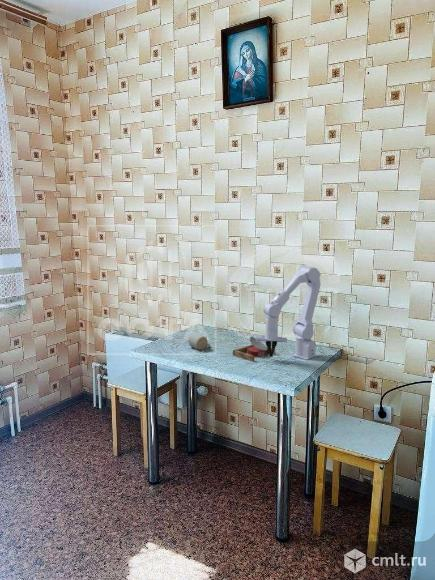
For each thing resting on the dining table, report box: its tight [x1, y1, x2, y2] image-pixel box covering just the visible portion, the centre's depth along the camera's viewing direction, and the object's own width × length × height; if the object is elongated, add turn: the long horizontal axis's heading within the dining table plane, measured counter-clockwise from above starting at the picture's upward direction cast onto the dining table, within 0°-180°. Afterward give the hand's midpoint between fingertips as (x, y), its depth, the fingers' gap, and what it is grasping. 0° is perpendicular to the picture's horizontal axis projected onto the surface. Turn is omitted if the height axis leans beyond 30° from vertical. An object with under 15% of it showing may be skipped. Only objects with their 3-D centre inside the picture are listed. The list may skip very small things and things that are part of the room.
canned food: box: [246, 336, 268, 358], centre depth 218 cm, size 11×10×10 cm
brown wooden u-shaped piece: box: [232, 343, 276, 362], centre depth 218 cm, size 13×16×2 cm
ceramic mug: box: [187, 332, 211, 351], centre depth 229 cm, size 11×8×8 cm
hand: (271, 356), depth 210 cm, fingers closed
